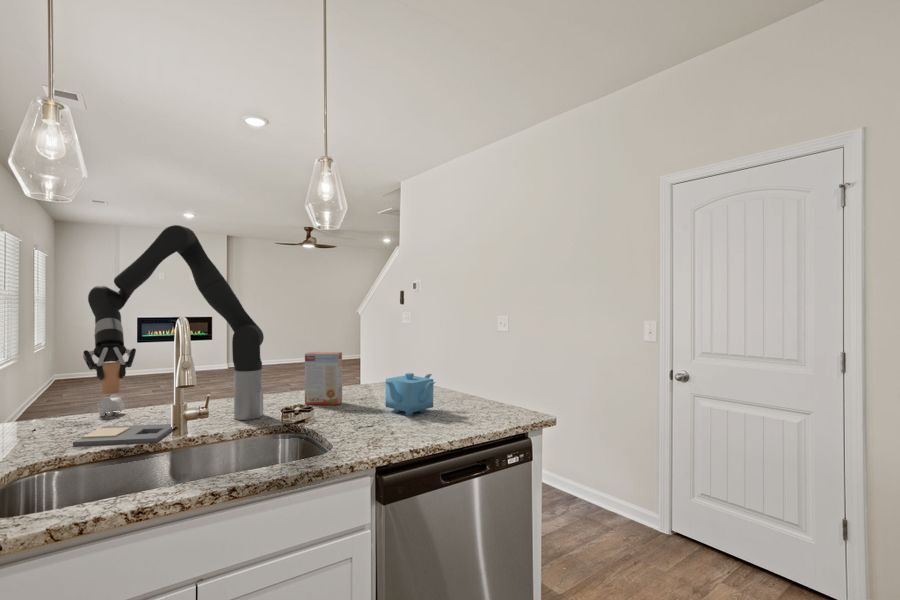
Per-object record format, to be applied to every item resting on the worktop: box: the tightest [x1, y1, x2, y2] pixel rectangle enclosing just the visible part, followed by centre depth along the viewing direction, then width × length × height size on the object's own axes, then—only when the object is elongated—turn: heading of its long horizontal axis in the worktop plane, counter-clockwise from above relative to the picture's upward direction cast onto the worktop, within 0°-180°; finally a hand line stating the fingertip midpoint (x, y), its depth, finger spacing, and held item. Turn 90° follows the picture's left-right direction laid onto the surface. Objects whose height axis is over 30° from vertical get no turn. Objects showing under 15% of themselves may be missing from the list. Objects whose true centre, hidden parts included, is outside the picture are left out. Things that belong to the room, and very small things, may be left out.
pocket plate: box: [72, 423, 172, 447], centre depth 145 cm, size 22×16×2 cm
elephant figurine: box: [96, 393, 129, 417], centre depth 171 cm, size 8×10×7 cm
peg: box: [101, 361, 121, 395], centre depth 144 cm, size 4×4×9 cm
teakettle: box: [384, 372, 437, 417], centre depth 177 cm, size 19×19×15 cm
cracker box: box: [304, 351, 343, 406], centre depth 190 cm, size 14×6×21 cm, turn 84°
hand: (111, 377), depth 143 cm, fingers closed on peg, 4 cm apart
